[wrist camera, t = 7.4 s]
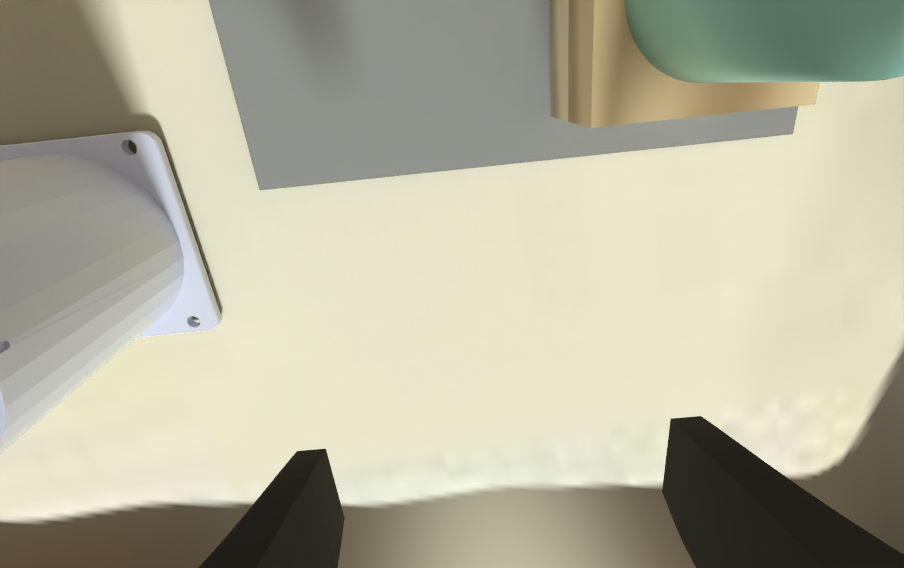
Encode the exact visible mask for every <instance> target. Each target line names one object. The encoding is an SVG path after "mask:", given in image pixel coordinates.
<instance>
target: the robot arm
mask: <svg viewBox="0 0 904 568" xmlns="http://www.w3.org/2000/svg"><path fill="white" fill-rule="evenodd" d="M129 140H131V141H132V142H134V143H135V145H136V146H137V152H136V153H134V152H132V151H131V150H130V149H129V147H128V142H129ZM192 316H194V317H197V318H198V319H199V320H200V323H197V322H195V321H194V320H193V319H192ZM221 320H222V318H221V314H220V311H219V308H218V305H217V302H216V299H215V296H214V293H213V290H212V287H211V284H210V281H209V278H208V275H207V272H206V269H205V266H204V264H203V261H202V258H201V255H200V252H199V249H198V246H197V243H196V240H195V237H194V234H193V231H192V228H191V225H190V222H189V219H188V217H187V214H186V211H185V208H184V205H183V202H182V199H181V196H180V193H179V190H178V187H177V184H176V181H175V178H174V175H173V172H172V170H171V167H170V164H169V161H168V158H167V155H166V152H165V149H164V146H163V143H162V141H161V140H160V138H159V137H158V136H157V135H156V134H155V133H153V132H151V131H146V130H142V131H133V132H123V133H114V134H104V135H95V136H86V137H76V138H67V139H58V140H48V141H39V142H29V143H20V144H11V145H1V146H0V453H1V452H3V451H4V450H5V449H6V448H7V447H8V446H10V445H11V444H12V443H13V442H14V441H16V440H17V439H18V438H19V437H20V436H21V435H23V434H24V433H25V432H26V431H27V430H29V429H30V428H31V427H32V426H33V425H34V424H36V423H37V422H38V421H39V420H40V419H41V418H43V417H44V416H45V415H46V414H47V413H49V412H50V411H51V410H52V409H53V408H54V407H56V406H57V405H58V404H59V403H60V402H62V401H63V400H64V399H65V398H66V397H67V396H69V395H70V394H71V393H72V392H73V391H75V390H76V389H77V388H78V387H79V386H80V385H82V384H83V383H84V382H85V381H86V380H88V379H89V378H90V377H91V376H92V375H93V374H95V373H96V372H97V371H98V370H99V369H100V368H102V367H103V366H104V365H105V364H106V363H108V362H109V361H110V360H111V359H112V358H113V357H115V356H116V355H117V354H118V353H119V352H121V351H122V350H123V349H124V348H125V347H126V346H128V345H129V344H130V343H131V342H132V341H134V340H135V339H136V338H143V337H152V336H162V335H172V334H181V333H191V332H201V331H210V330H213V329H215V328H216V327H217V326H218V325H219V324H220V323H221ZM662 492H663V495H664V497H665V500H666V502H667V505H668V507H669V510H670V513H671V515H672V518H673V520H674V523H675V525H676V527H677V529H678V532H679V534H680V537H681V539H682V541H683V544H684V545H685V547H686V549H687V551H688V553H689V555H690V557H691V559H692V561H693V562H694V564H695V566H696V568H904V554H902V553H900V552H899V551H897V550H895V549H894V548H892V547H891V546H889V545H887V544H886V543H884V542H883V541H881V540H880V539H878V538H876V537H875V536H873V535H872V534H870V533H869V532H867V531H865V530H864V529H862V528H861V527H859V526H858V525H856V524H854V523H853V522H851V521H850V520H848V519H847V518H845V517H844V516H842V515H841V514H839V513H838V512H836V511H835V510H833V509H832V508H830V507H829V506H827V505H826V504H824V503H823V502H821V501H820V500H818V499H817V498H815V497H814V496H812V495H811V494H810V493H808V492H806V491H805V490H804V489H802V488H801V487H799V486H798V485H797V484H795V483H794V482H792V481H791V480H789V479H788V478H786V477H785V476H784V475H782V474H781V473H779V472H778V471H777V470H775V469H774V468H772V467H771V466H770V465H768V464H767V463H765V462H764V461H763V460H761V459H760V458H758V457H757V456H756V455H754V454H753V453H752V452H750V451H749V450H747V449H746V448H745V447H743V446H742V445H741V444H739V443H738V442H736V441H735V440H734V439H732V438H731V437H729V436H728V435H727V434H725V433H724V432H723V431H721V430H720V429H718V428H717V427H716V426H714V425H713V424H711V423H710V422H708V421H707V420H706V419H704V418H703V417H701V416H698V417H686V418H675V419H671V422H670V430H669V439H668V447H667V456H666V464H665V473H664V481H663V490H662ZM343 524H344V515H343V511H342V507H341V504H340V500H339V496H338V493H337V489H336V485H335V481H334V478H333V474H332V470H331V467H330V463H329V459H328V456H327V452H326V449H318V450H306V451H297V452H296V453H295V454H294V456H293V457H292V458H291V459H290V460H289V462H288V463H287V464H286V465H285V466H284V467H283V469H282V470H281V471H280V472H279V474H278V475H277V476H276V477H275V478H274V480H273V481H272V482H271V483H270V485H269V486H268V487H267V488H266V490H265V491H264V492H263V493H262V494H261V496H260V497H259V498H258V499H257V501H256V502H255V503H254V504H253V505H252V507H251V508H250V509H249V510H248V511H247V513H246V514H245V515H244V516H243V517H242V519H241V520H240V521H239V522H238V523H237V524H236V526H235V527H234V528H233V529H232V530H231V531H230V533H229V534H228V535H227V536H226V537H225V538H224V540H223V541H222V542H221V543H220V545H218V547H217V548H216V549H215V550H214V551H213V552H212V553H211V555H210V556H209V557H208V558H207V559H206V560H205V561H204V562H203V563H202V564H201V566H200V567H199V568H337V567H338V560H339V554H340V547H341V540H342V532H343Z"/></svg>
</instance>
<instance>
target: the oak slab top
mask: <svg viewBox="0 0 904 568" xmlns="http://www.w3.org/2000/svg"><path fill="white" fill-rule="evenodd" d="M819 84H820V82H737V83H694V82H686V81H681V80H677V79H675V78H672V77H670V76H667V75H666V74H664V73H662V72H661V71H659V70H657V69H656V68H655V67H654V66H653V65H652V64H651V63H649V62H648V60H647V59H646V58H645V57H644V56H643V54H642V53H641V52H640V50H639V48H638V47H637V45H636V44H635V41H634V39H633V37H632V34H631V32H630V29H629V25H628V22H627V17H626V11H625V0H569V35H568V122H571V123H575V124H578V125H582V126H586V127H589V128H596V127H605V126H615V125H624V124H634V123H643V122H653V121H662V120H672V119H681V118H690V117H700V116H709V115H719V114H728V113H738V112H747V111H757V110H766V109H776V108H785V107H795V106H804V105H814V104H815V103H816V98H817V93H818V88H819Z"/></svg>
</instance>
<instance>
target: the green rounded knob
mask: <svg viewBox="0 0 904 568" xmlns="http://www.w3.org/2000/svg"><path fill="white" fill-rule="evenodd" d="M625 11H626V17H627V22H628V25H629V29H630V32H631V34H632V37H633V39H634V41H635V44H636V45H637V47H638V48H639V50H640V52H641V53H642V54H643V56H644V57H645V58H646V59H647V60H648V62H649V63H651V64H652V65H653V66H654V67H655V68H656V69H657V70H659V71H661V72H662V73H664V74H666V75H667V76H670V77H672V78H675V79H677V80H681V81H686V82H694V83H737V82H845V81H877V80H886V79H891V78H896V77H901V76H904V0H625Z"/></svg>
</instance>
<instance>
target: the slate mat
mask: <svg viewBox="0 0 904 568" xmlns="http://www.w3.org/2000/svg"><path fill="white" fill-rule="evenodd" d="M209 3H210V7H211V10H212V14H213V18H214V22H215V25H216V29H217V33H218V36H219V40H220V44H221V48H222V51H223V55H224V59H225V63H226V66H227V70H228V74H229V77H230V81H231V85H232V89H233V92H234V96H235V100H236V104H237V107H238V111H239V115H240V118H241V122H242V126H243V130H244V133H245V137H246V141H247V145H248V148H249V152H250V156H251V159H252V163H253V167H254V171H255V174H256V178H257V182H258V186H259V189H260V190H267V189H277V188H286V187H295V186H305V185H314V184H324V183H333V182H343V181H352V180H362V179H371V178H381V177H390V176H400V175H409V174H419V173H428V172H438V171H447V170H457V169H466V168H476V167H485V166H495V165H504V164H513V163H523V162H532V161H542V160H551V159H561V158H570V157H580V156H589V155H599V154H608V153H618V152H627V151H637V150H646V149H656V148H665V147H675V146H684V145H694V144H703V143H713V142H722V141H732V140H741V139H750V138H760V137H769V136H779V135H788V134H793V130H794V125H795V120H796V115H797V110H798V106H795V107H785V108H776V109H766V110H757V111H747V112H738V113H728V114H719V115H709V116H700V117H690V118H681V119H672V120H662V121H653V122H643V123H634V124H624V125H615V126H605V127H596V128H589V127H586V126H582V125H578V124H575V123H571V122H567V121H564V120H560V119H556V118H553V117H551V65H550V0H209Z"/></svg>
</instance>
